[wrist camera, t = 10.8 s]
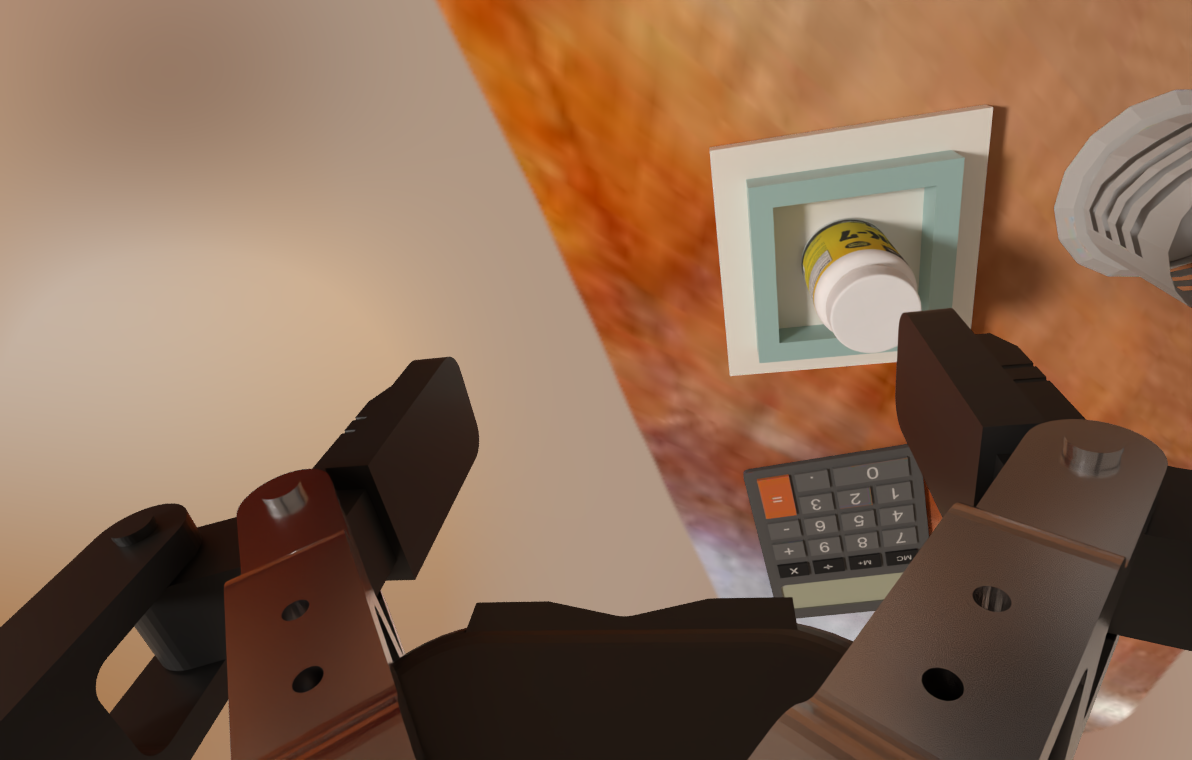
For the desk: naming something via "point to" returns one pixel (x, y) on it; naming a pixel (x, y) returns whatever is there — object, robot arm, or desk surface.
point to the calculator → (839, 527)
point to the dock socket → (839, 191)
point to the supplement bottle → (858, 284)
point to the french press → (1134, 195)
